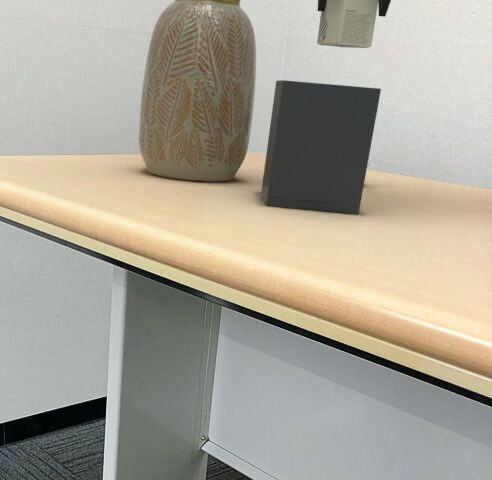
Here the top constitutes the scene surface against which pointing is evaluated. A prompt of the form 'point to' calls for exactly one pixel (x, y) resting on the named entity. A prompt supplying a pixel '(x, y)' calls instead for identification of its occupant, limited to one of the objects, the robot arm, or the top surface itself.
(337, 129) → the dark grey block
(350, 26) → the box
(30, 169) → the top surface
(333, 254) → the top surface
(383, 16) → the robot arm
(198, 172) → the vase
